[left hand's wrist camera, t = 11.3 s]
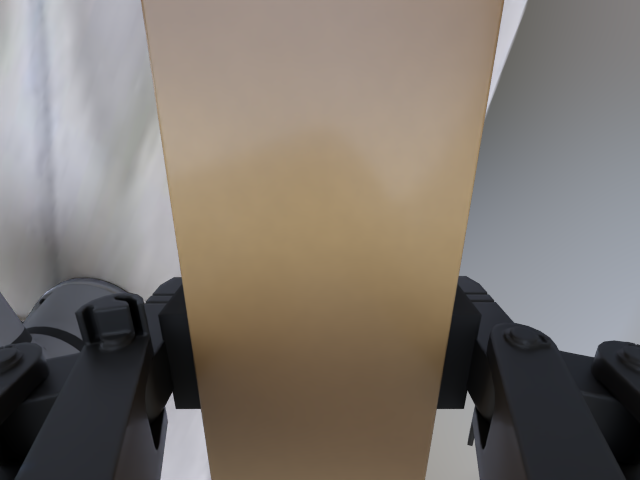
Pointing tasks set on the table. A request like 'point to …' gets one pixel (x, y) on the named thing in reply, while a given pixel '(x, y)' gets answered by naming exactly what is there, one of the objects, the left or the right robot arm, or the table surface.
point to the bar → (320, 219)
